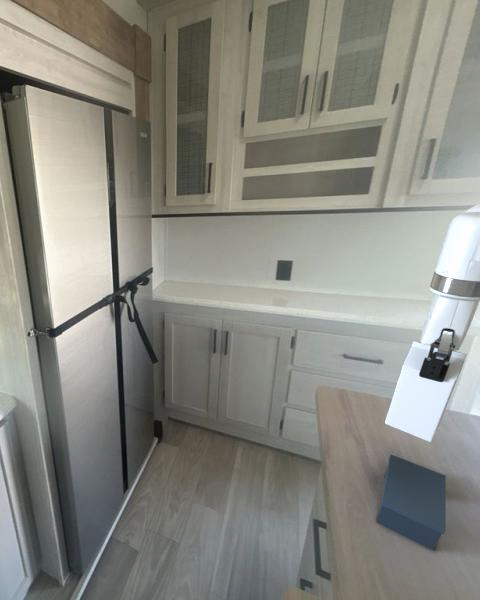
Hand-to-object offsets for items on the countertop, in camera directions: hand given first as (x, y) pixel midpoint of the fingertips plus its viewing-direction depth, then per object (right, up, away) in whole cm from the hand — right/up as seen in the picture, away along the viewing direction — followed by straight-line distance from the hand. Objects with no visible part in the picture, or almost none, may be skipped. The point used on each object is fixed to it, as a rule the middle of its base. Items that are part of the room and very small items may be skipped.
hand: (431, 368), depth 64 cm
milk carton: (+1, -13, +6) cm, 14 cm away
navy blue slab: (0, -31, +5) cm, 31 cm away
